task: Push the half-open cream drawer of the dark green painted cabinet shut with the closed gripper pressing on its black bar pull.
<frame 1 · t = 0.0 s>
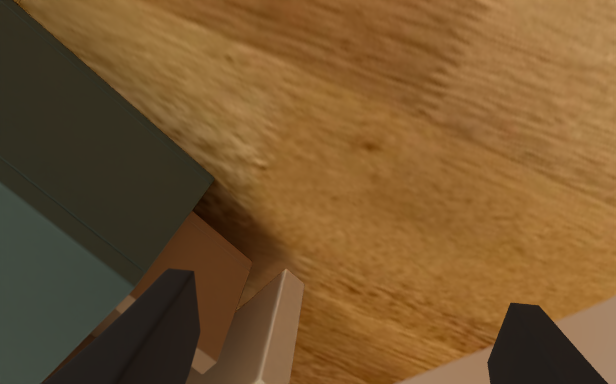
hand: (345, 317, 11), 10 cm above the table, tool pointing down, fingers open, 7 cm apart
drawer: (138, 341, 19), point 4 cm above the table, slide at 5.0 cm
cabinet: (22, 161, 21), on the table
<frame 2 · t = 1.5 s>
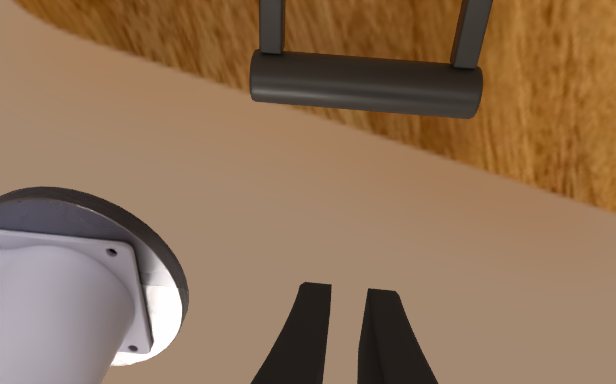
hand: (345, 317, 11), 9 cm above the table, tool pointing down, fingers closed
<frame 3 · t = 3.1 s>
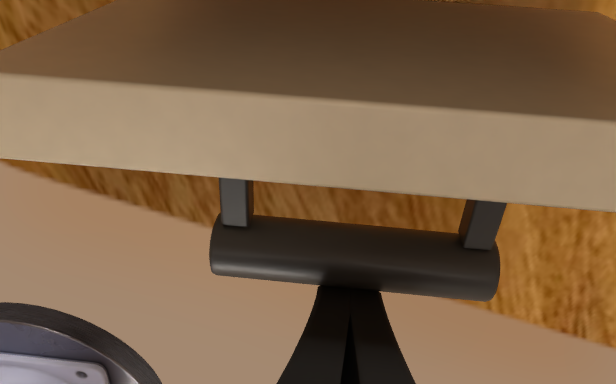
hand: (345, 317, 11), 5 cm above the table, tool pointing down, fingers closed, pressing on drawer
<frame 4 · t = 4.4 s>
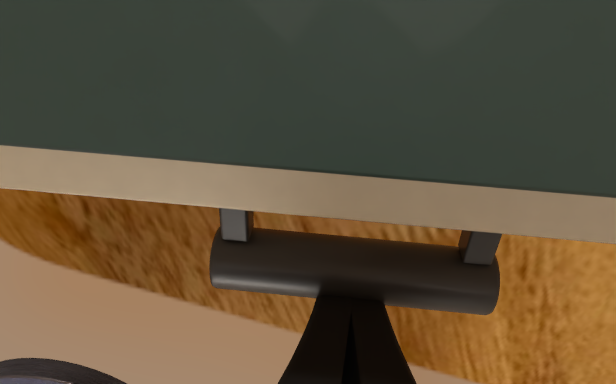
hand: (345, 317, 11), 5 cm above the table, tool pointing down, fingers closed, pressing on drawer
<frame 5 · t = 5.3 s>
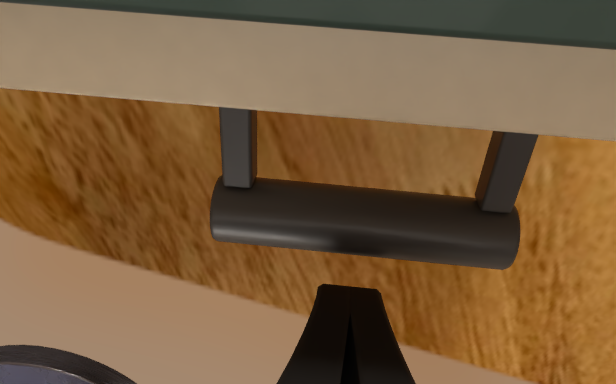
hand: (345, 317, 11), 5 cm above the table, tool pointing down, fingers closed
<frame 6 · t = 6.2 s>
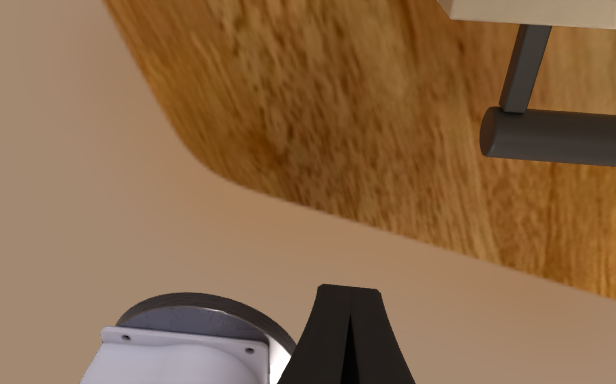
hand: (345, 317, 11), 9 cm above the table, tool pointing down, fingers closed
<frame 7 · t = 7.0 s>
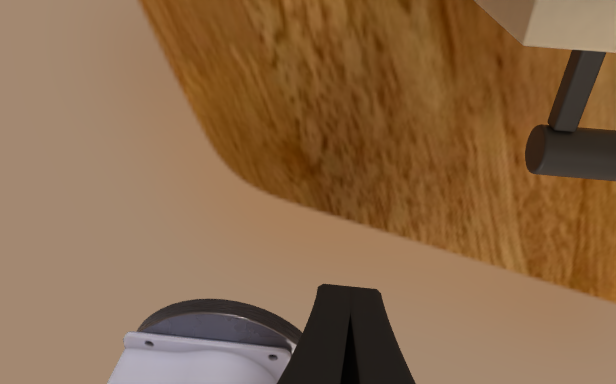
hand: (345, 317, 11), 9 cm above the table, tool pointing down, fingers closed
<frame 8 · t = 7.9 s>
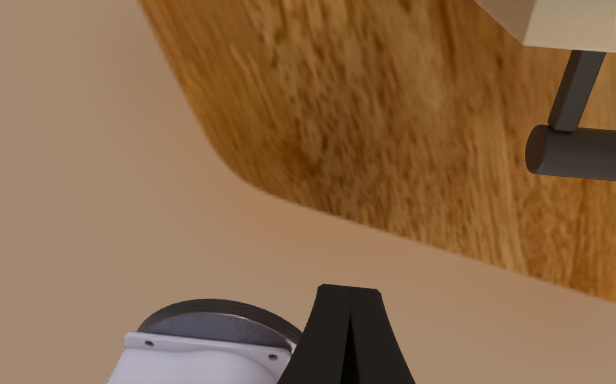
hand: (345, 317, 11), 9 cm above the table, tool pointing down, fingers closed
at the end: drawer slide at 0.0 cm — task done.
